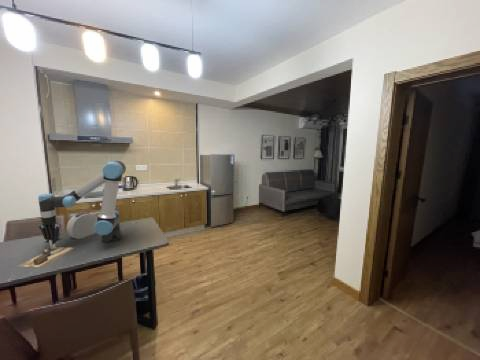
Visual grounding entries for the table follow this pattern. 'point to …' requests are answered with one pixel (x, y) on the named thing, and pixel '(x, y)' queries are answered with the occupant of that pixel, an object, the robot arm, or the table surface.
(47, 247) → the latch bar
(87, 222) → the alarm clock
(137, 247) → the table surface
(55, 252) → the board
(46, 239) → the mortar and pestle
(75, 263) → the table surface
